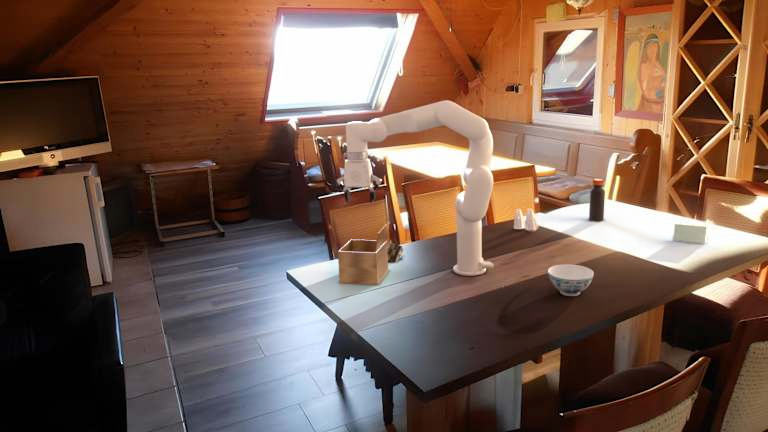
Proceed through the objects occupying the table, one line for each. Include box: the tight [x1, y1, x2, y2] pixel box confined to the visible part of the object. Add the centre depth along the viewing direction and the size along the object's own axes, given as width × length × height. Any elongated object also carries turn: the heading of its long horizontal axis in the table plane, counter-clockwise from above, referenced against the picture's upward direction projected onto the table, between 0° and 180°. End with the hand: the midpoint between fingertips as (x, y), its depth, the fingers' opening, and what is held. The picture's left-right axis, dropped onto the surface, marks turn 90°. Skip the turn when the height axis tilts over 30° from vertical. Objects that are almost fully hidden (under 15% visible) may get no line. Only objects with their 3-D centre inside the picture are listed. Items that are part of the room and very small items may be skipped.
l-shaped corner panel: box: [673, 219, 710, 245], centre depth 258 cm, size 12×12×8 cm
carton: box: [337, 239, 389, 286], centre depth 230 cm, size 15×16×12 cm
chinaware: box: [547, 263, 595, 297], centre depth 206 cm, size 15×15×8 cm
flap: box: [376, 221, 391, 251], centre depth 225 cm, size 7×15×1 cm
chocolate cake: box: [387, 239, 405, 263], centre depth 251 cm, size 10×7×12 cm
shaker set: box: [513, 208, 539, 233], centre depth 281 cm, size 12×4×11 cm, turn 40°
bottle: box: [588, 178, 606, 222], centre depth 292 cm, size 7×7×20 cm
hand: (360, 201), depth 223 cm, fingers open, 9 cm apart
